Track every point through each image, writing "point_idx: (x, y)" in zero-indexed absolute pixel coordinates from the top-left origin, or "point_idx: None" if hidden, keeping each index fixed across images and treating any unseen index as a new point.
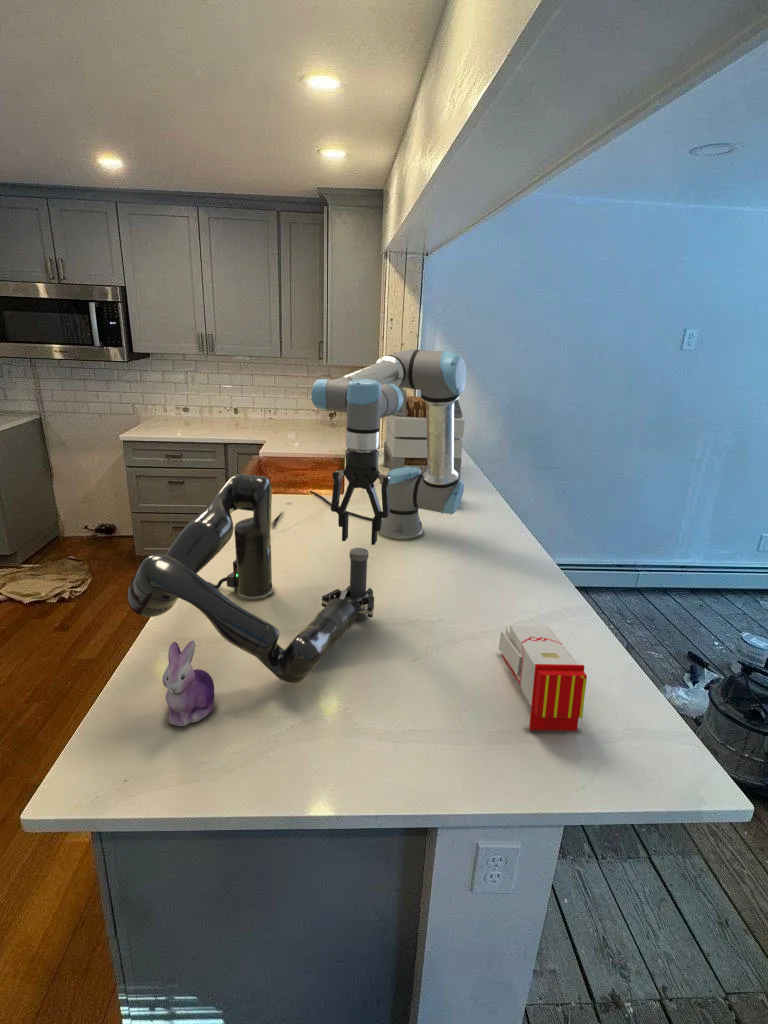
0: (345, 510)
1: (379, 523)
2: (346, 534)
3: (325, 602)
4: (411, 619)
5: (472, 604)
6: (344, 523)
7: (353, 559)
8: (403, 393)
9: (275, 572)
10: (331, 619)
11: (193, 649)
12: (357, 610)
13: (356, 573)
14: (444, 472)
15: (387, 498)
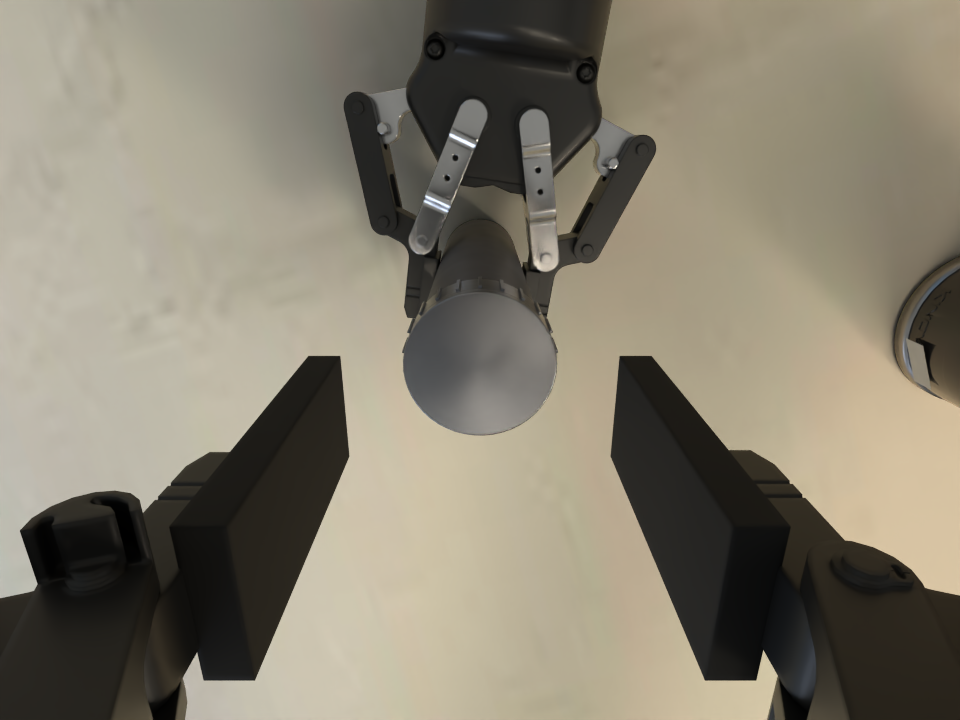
0: (774, 702)
1: (151, 519)
2: (628, 430)
3: (624, 130)
4: (254, 300)
5: (65, 480)
6: (697, 453)
7: (507, 285)
8: None
9: (907, 507)
10: None
11: None
12: (421, 60)
13: (479, 262)
14: None
15: None
